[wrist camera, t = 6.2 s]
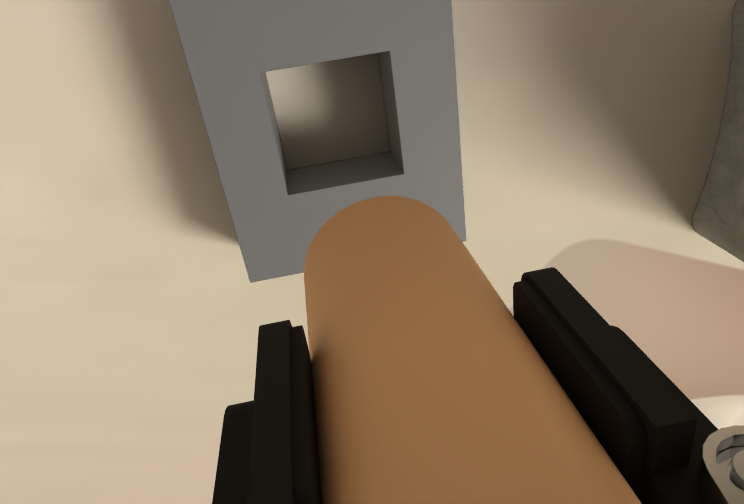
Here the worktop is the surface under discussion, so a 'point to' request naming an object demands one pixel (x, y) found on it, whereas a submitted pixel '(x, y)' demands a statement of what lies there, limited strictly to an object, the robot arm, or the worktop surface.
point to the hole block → (260, 131)
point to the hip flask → (727, 160)
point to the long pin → (434, 375)
